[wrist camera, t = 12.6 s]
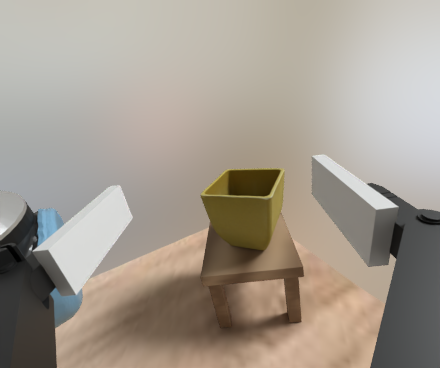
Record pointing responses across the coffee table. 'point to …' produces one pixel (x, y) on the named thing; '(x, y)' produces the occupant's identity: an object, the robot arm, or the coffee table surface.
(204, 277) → the stool
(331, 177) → the robot arm
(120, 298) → the coffee table surface
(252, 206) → the flower pot
